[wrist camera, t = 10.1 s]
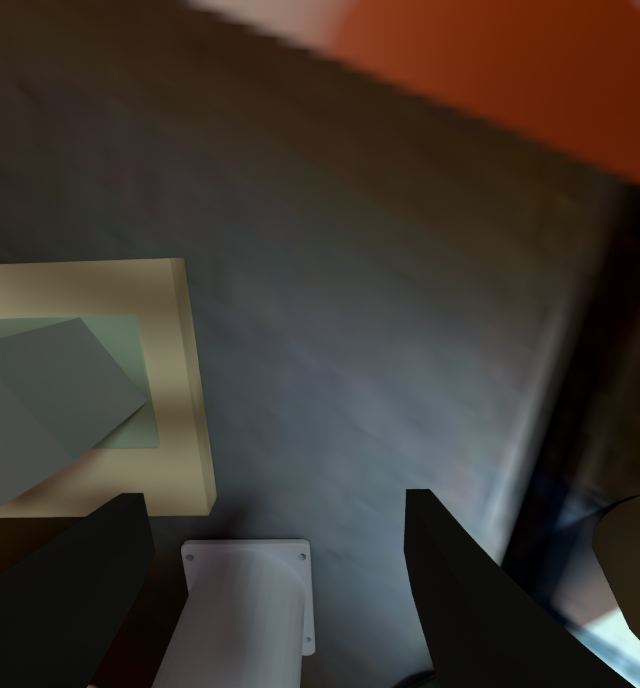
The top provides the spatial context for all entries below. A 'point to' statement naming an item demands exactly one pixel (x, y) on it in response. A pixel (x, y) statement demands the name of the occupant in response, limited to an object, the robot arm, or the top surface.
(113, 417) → the grey matte cube
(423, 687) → the coffee jar
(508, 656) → the robot arm
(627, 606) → the squeeze bottle
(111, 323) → the board
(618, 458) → the top surface
